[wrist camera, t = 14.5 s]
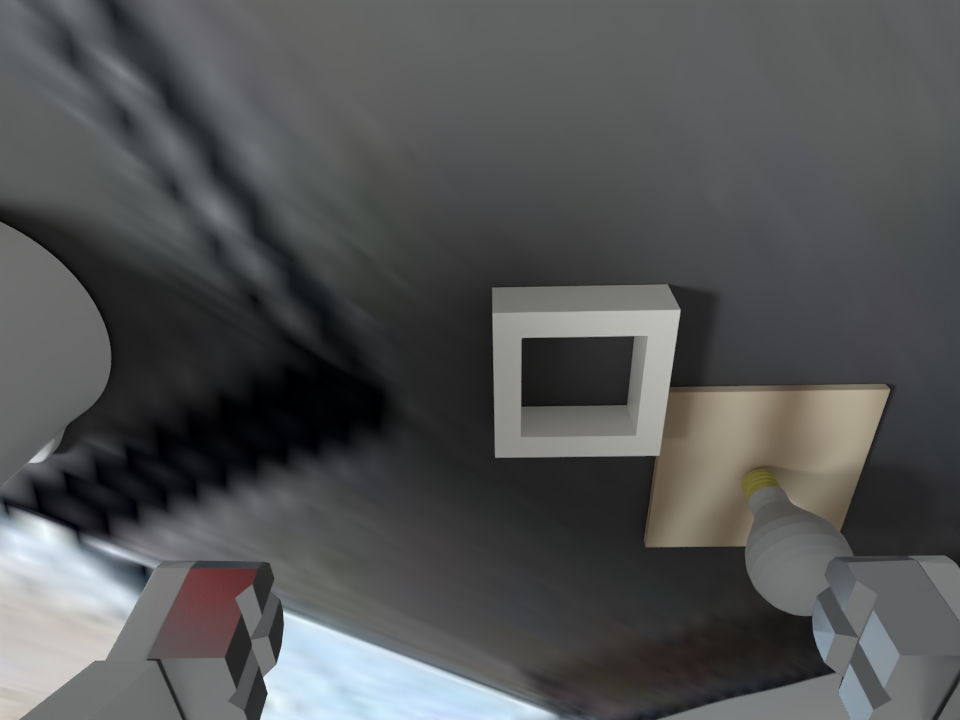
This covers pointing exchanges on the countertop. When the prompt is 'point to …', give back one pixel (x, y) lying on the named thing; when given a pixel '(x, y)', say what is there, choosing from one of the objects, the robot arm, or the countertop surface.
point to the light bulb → (787, 546)
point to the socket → (584, 315)
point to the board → (757, 456)
